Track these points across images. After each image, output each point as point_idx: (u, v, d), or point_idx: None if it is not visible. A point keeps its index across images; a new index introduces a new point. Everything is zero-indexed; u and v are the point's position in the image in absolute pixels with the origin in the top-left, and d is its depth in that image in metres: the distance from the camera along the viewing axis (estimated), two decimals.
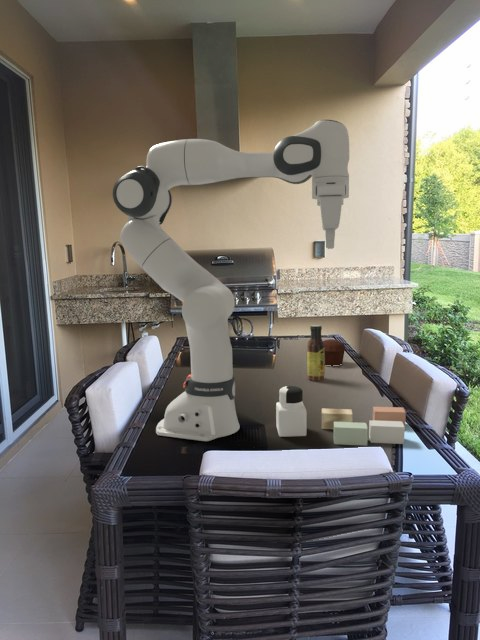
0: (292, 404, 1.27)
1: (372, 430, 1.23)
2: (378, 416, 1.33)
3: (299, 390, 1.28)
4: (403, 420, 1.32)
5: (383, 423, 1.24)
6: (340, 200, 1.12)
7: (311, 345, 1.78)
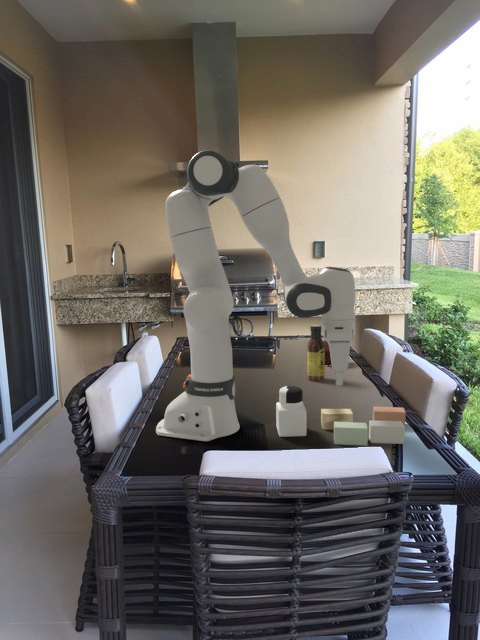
0: (292, 404, 1.27)
1: (372, 430, 1.23)
2: (377, 416, 1.33)
3: (299, 390, 1.28)
4: (403, 420, 1.32)
5: (383, 423, 1.24)
6: (348, 347, 1.22)
7: (311, 345, 1.78)
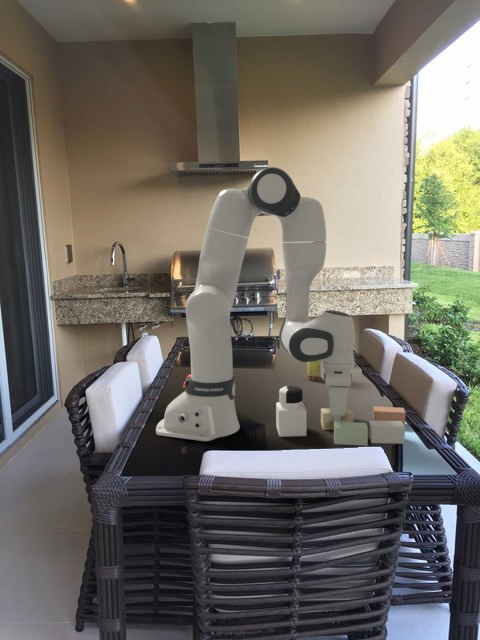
0: (292, 404, 1.27)
1: (373, 430, 1.23)
2: (377, 416, 1.34)
3: (299, 390, 1.28)
4: (403, 420, 1.32)
5: (383, 423, 1.24)
6: (346, 392, 1.23)
7: None
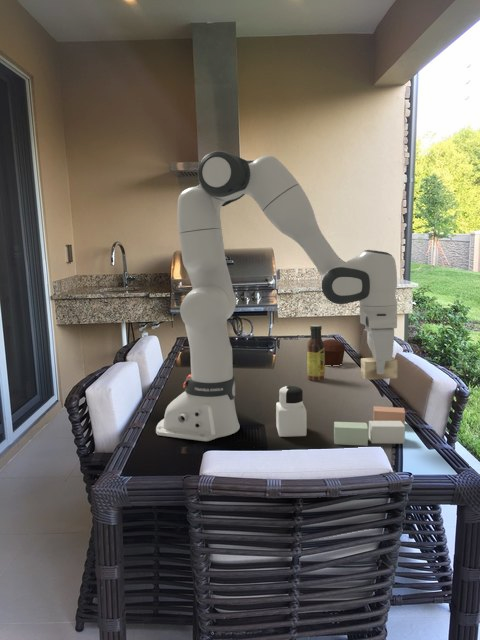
0: (292, 404, 1.27)
1: (373, 431, 1.23)
2: (377, 416, 1.34)
3: (299, 390, 1.28)
4: (402, 420, 1.32)
5: (383, 423, 1.24)
6: (392, 334, 1.14)
7: (311, 345, 1.78)
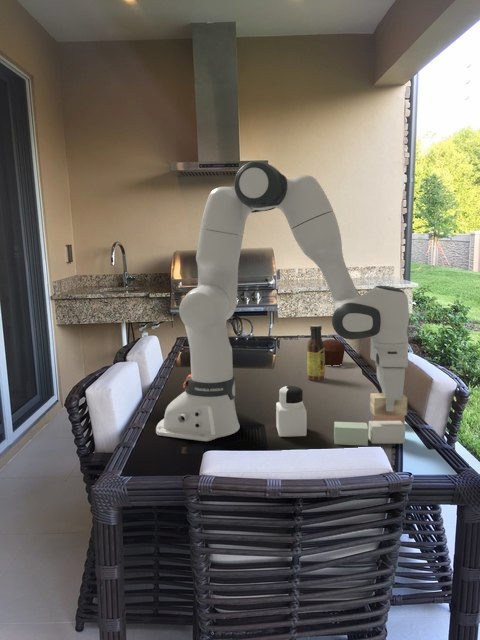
0: (292, 404, 1.27)
1: (373, 431, 1.23)
2: (377, 416, 1.34)
3: (299, 390, 1.28)
4: (402, 420, 1.32)
5: (383, 423, 1.24)
6: (403, 374, 1.13)
7: (311, 345, 1.78)
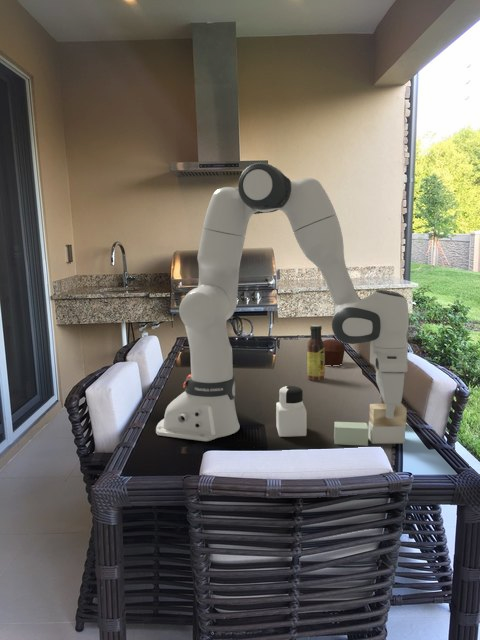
0: (292, 404, 1.27)
1: (374, 431, 1.22)
2: None
3: (299, 390, 1.28)
4: None
5: None
6: (402, 379, 1.13)
7: (311, 345, 1.78)
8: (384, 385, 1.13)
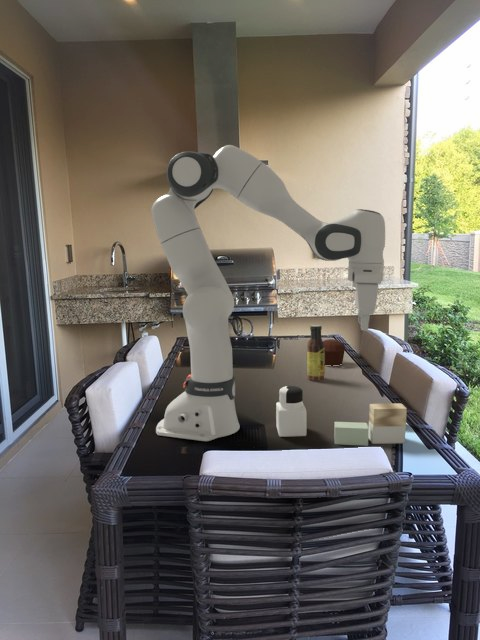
0: (292, 404, 1.27)
1: (374, 431, 1.22)
2: None
3: (299, 390, 1.28)
4: None
5: None
6: (376, 289, 1.19)
7: (311, 345, 1.78)
8: (359, 295, 1.20)
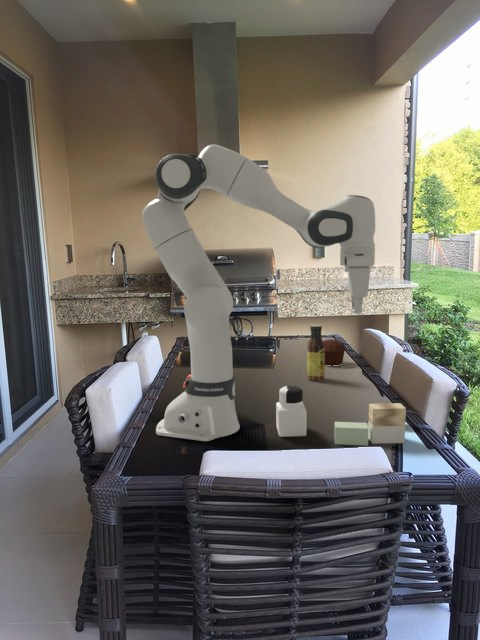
0: (292, 404, 1.27)
1: (374, 431, 1.22)
2: None
3: (299, 390, 1.28)
4: None
5: None
6: (368, 272, 1.22)
7: (311, 345, 1.78)
8: (351, 278, 1.22)
